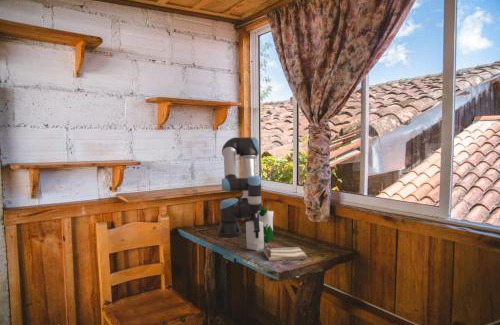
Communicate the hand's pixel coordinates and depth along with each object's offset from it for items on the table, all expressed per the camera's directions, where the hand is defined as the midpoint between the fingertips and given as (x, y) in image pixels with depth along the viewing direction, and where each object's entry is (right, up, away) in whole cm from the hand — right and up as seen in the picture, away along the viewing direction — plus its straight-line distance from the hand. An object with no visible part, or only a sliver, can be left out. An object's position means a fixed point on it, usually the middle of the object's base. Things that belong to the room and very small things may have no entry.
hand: (254, 240), depth 205 cm
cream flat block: (+16, -5, -12) cm, 20 cm away
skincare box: (0, -5, 0) cm, 5 cm away
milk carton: (+7, -4, +17) cm, 19 cm away
